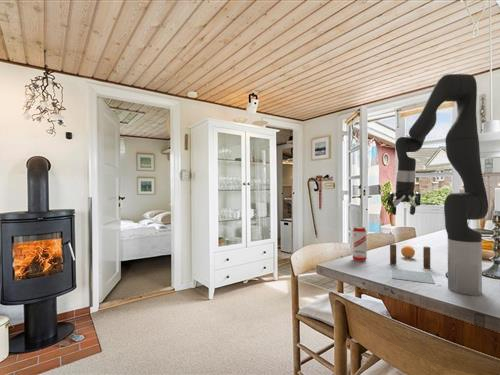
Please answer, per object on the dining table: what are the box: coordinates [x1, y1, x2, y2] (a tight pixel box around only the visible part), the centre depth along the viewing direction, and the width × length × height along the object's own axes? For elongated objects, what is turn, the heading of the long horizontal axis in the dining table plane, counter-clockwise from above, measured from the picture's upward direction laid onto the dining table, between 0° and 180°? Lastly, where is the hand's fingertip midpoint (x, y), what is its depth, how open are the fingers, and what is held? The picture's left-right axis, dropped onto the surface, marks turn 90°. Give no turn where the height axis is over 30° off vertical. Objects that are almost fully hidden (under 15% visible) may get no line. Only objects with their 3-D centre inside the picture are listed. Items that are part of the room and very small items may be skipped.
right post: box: [422, 246, 431, 270], centre depth 122 cm, size 3×3×9 cm
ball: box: [400, 245, 416, 259], centre depth 139 cm, size 6×6×6 cm
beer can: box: [352, 226, 368, 263], centre depth 134 cm, size 6×6×16 cm
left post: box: [389, 243, 397, 266], centre depth 128 cm, size 3×3×9 cm
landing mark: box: [391, 268, 436, 285], centre depth 110 cm, size 14×14×1 cm
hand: (402, 214), depth 131 cm, fingers open, 8 cm apart
